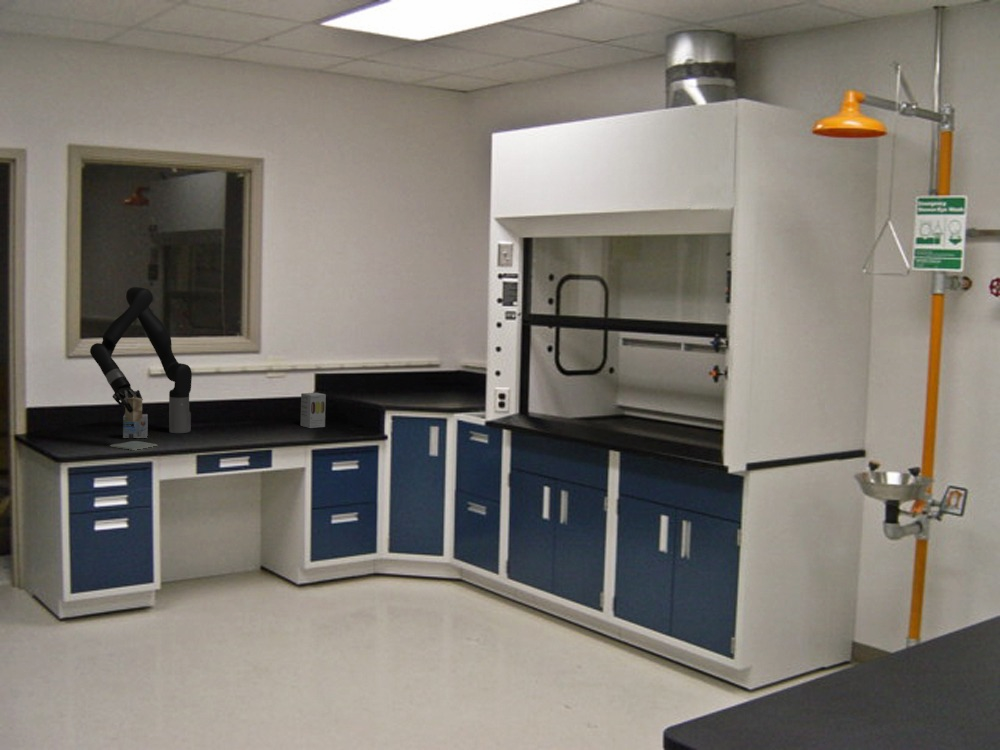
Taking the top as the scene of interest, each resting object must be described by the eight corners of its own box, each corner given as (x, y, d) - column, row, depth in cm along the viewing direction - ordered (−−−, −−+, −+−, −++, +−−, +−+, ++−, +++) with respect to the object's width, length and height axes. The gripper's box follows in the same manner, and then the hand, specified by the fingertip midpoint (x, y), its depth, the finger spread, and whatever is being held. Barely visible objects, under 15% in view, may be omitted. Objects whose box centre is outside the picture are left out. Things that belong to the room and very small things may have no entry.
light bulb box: (122, 439, 495) (122, 416, 494) (123, 436, 502) (123, 413, 500) (147, 439, 498) (147, 416, 497) (147, 436, 505) (147, 413, 503)
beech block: (134, 419, 480) (134, 397, 479) (142, 420, 477) (142, 398, 476) (125, 420, 475) (125, 398, 474) (133, 422, 473) (133, 399, 472)
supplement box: (309, 428, 543) (310, 395, 541) (299, 425, 550) (300, 393, 548) (325, 426, 550) (326, 394, 548) (315, 424, 557) (316, 392, 555)
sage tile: (135, 442, 487) (135, 440, 487) (157, 446, 480) (157, 444, 480) (110, 447, 475) (110, 444, 475) (132, 451, 468) (132, 448, 468)
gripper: (109, 377, 472) (128, 407, 467) (134, 374, 484) (153, 403, 480) (100, 388, 475) (119, 417, 470) (126, 385, 487) (145, 414, 483)
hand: (136, 410), depth 475 cm, fingers closed on beech block, 5 cm apart
